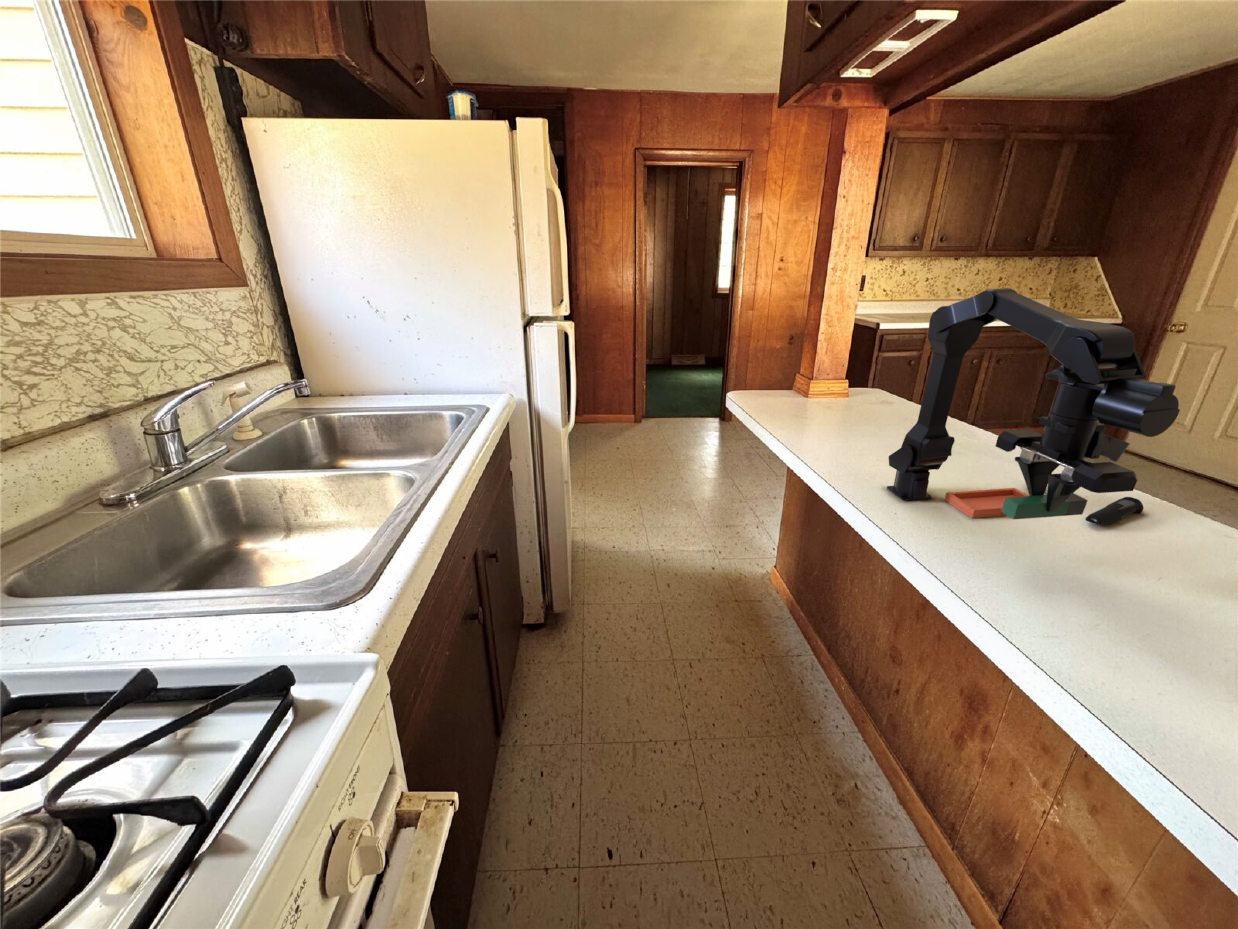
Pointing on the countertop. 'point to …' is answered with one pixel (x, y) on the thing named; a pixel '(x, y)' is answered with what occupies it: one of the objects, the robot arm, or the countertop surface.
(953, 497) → the pen tray
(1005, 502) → the green rectangular block
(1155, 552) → the countertop surface
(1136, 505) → the electric trimmer
